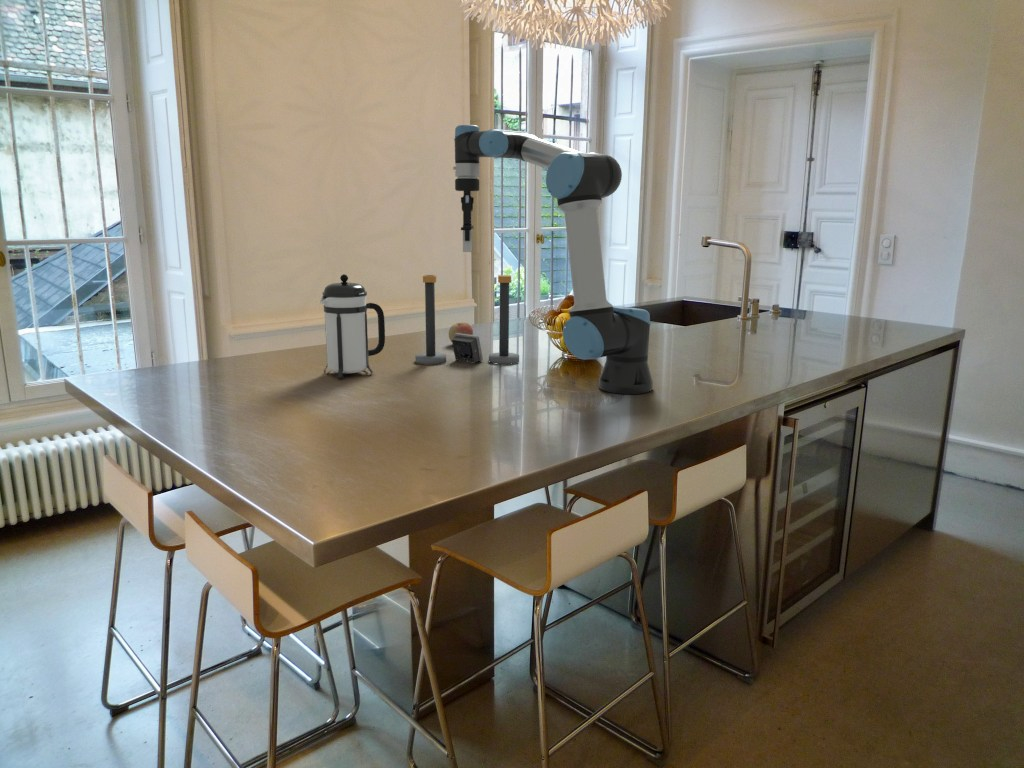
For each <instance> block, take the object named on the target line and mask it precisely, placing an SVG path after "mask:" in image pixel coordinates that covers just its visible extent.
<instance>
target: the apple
mask: <svg viewBox="0 0 1024 768" xmlns="http://www.w3.org/2000/svg"><path fill="white" fill-rule="evenodd" d="M456 333H461V334H469V335H474V330H473V327H472V326H471V325H470V324H469V323H468V322H456V323H454V324H452V325H451V326H450V327H449V330H448V338H449V341H450V342H451V343H452V339H454V337H455V334H456Z"/></svg>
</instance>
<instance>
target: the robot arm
mask: <svg viewBox="0 0 1024 768" xmlns="http://www.w3.org/2000/svg"><path fill="white" fill-rule="evenodd" d="M453 140H454V165H455V166H453V167H452V169H453V170H454V175H455V177H457V178H455V179H454V189H455V191H457V192H463V196H461V197H460V203H461V211H462V215H463V216H462V219H463V221H462V222H463V223H462V227H460V231H462V252H463V253H472V251H473V249H472V247H473V241H472V240H473V239H472V238H473V237H472V236H473V235H472V232H473V229H475V228H474V225H472V212H473V210H474V205H473V204H474V199H475V197H472V192H478V191H480V175H481V174H480V172H481V171H480V170H481V168H480V166H481V165H480V158H499V159H517V160H521V161H523V162H526V163H528V164H529V163H530V164H531V165H535V166H538V167H540V168H543V169H546V170H547V171H546V175H545V185H546V189H547V192H548V193H549V194H550V196H551V197H553V198H554V199H556V201H557V208H558V210H560V211H561V212H562V213H563V214H564V221H565V222H564V223H565V229H566V230H565V231H566V239H567V250H568V257H569V266H570V267H569V268H570V274H571V275H570V276H571V284H572V292H573V293H572V295H573V302H574V304H573V306H572V307H571V308H570V309H569V319H567V321H565V323H564V326H563V327H562V338H563V341H564V342H563V343H564V344H565V347H566V348H567V350H568V351H569V352H570V353H571V354H572V356H574V357H575V358H577V359H580V360H584V361H585V360H598V359H599V358H604V357H606V358H605V363H604V365H603V369H602V370H601V374H600V376H599V378H598V387H599V389H600V390H602V391H604V392H606V393H607V392H608V393H613V394H618V395H619V394H620V395H621V394H622V395H639V394H641V393H642V394H647V393H650V392H651V390H653V389H654V387H653V386H654V380H653V377H652V373H651V369H650V366H649V362H648V361H649V359H648V358H649V345H650V330H651V329H650V327H651V317H650V316H651V314H650V312H649V311H648V310H646V309H642V308H636V307H628V306H619V305H613V304H612V303H611V302H610V301H608V300H607V293H606V292H607V291H606V283H605V273H604V263H603V254H602V245H601V244H602V243H601V236H600V228H599V217H598V209H599V206H601V205H602V202H603V201H602V199H604V198H606V197H610V196H611V195H612V194H614V193H615V192H616V191H617V189H618V188H619V186H620V184H621V183H622V177H623V173H622V168H621V166H620V164H619V162H618V161H617V159H615V158H614V157H613V156H610V155H608V154H605V153H597V152H581V151H578V150H576V149H573V148H570V147H567V146H563V145H560V144H557V143H553V142H550V141H547V140H544V139H541V138H538V137H537V136H536V135H534V134H531V133H527V132H523V133H522V132H521V133H519V132H508V131H502V130H500V129H489V130H480V127H479V126H478V125H475V124H474V125H473V124H460V125H459V124H458V125H457V126H456V127H455V129H454V139H453ZM649 391H650V392H649Z"/></svg>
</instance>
